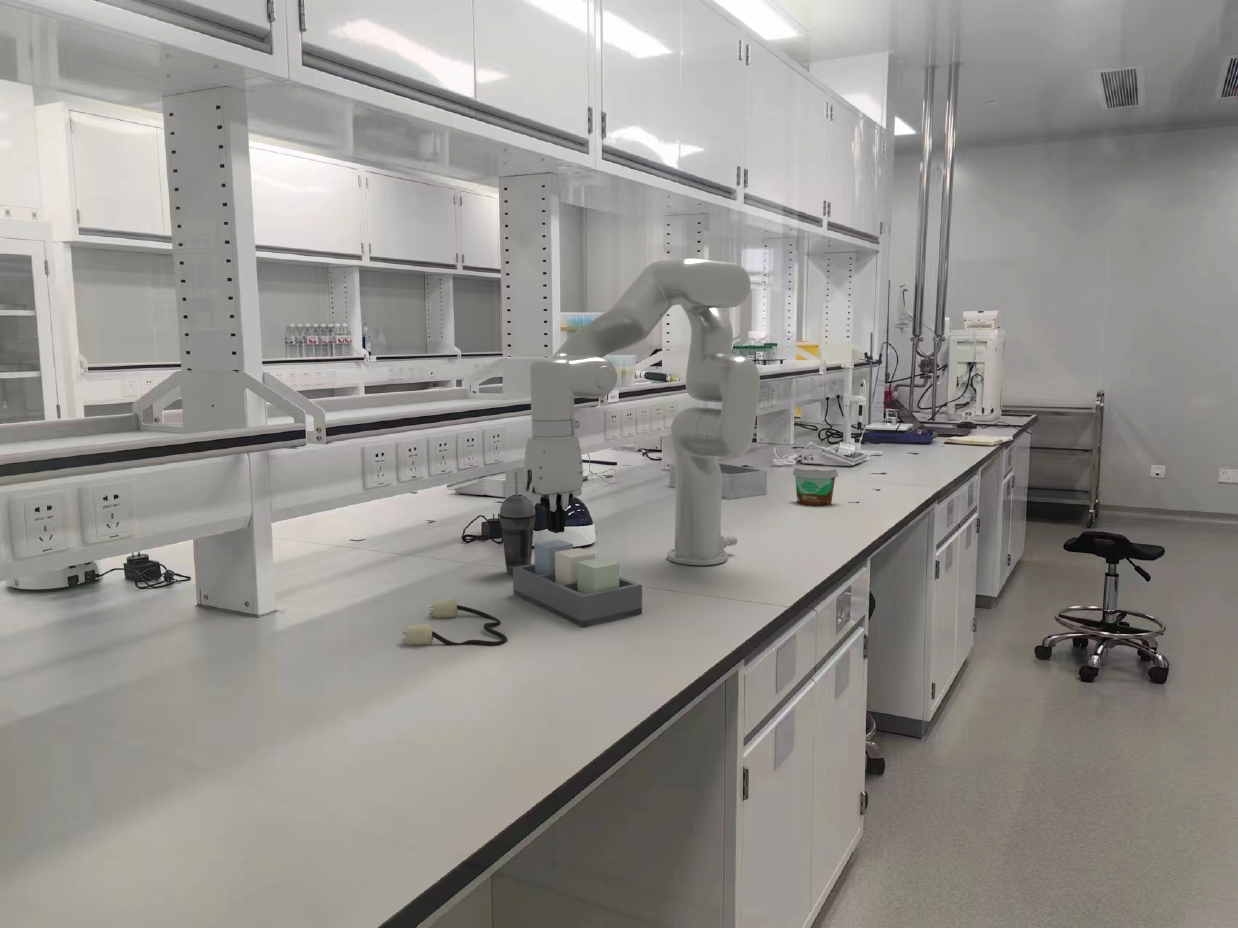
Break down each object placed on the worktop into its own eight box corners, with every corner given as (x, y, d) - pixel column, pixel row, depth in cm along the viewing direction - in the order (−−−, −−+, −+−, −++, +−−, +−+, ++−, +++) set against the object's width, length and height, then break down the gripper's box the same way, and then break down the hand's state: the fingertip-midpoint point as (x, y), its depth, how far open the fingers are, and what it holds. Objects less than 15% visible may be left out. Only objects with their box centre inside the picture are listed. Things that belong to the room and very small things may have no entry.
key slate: (558, 570, 161) (558, 538, 161) (573, 576, 157) (573, 544, 157) (534, 575, 159) (534, 542, 158) (549, 581, 155) (549, 548, 154)
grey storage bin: (705, 482, 282) (706, 460, 281) (766, 494, 261) (767, 470, 260) (669, 486, 274) (669, 464, 273) (729, 499, 252) (729, 475, 251)
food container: (789, 505, 243) (790, 469, 242) (791, 501, 249) (793, 466, 247) (835, 508, 240) (836, 471, 238) (836, 504, 245) (838, 468, 244)
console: (569, 583, 165) (569, 557, 165) (642, 613, 147) (642, 584, 147) (513, 594, 158) (512, 567, 158) (582, 627, 140) (582, 597, 140)
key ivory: (579, 580, 156) (579, 547, 155) (595, 587, 152) (595, 553, 151) (555, 585, 153) (555, 551, 152) (570, 592, 149) (570, 557, 148)
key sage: (601, 591, 150) (601, 557, 149) (619, 598, 146) (619, 563, 145) (577, 596, 147) (577, 561, 147) (594, 603, 143) (594, 568, 143)
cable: (522, 617, 147) (522, 597, 146) (502, 652, 131) (502, 630, 130) (430, 615, 148) (430, 595, 148) (400, 649, 132) (399, 627, 131)
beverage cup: (502, 579, 168) (500, 475, 166) (497, 569, 175) (495, 470, 173) (540, 576, 170) (538, 474, 168) (533, 567, 177) (532, 468, 174)
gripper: (577, 424, 162) (579, 521, 165) (505, 431, 153) (508, 533, 156) (600, 427, 156) (602, 528, 159) (526, 435, 147) (530, 541, 150)
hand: (556, 531), depth 157 cm, fingers closed
